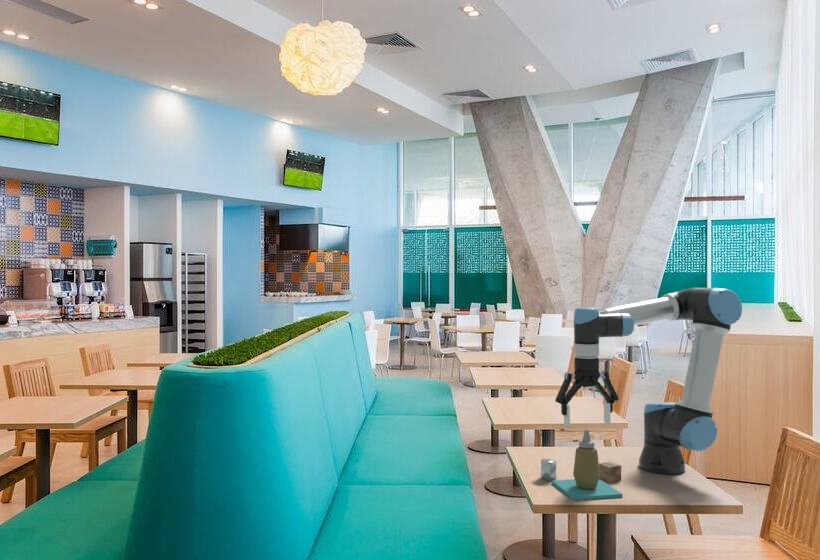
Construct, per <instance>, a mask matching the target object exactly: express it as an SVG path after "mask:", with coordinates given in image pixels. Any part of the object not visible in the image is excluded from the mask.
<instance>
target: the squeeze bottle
mask: <svg viewBox="0 0 820 560" xmlns="http://www.w3.org/2000/svg"><path fill="white" fill-rule="evenodd" d="M590 435H591V434H590V430H589V429H587V428H586V429H584V432H583V436H582V439H580V440H579V441H578V447H576V448H575V453H574V455H575V456H574V464H573V472H572V473H573V474H572V475H573V477H574V479H575V481H576V485H577V487H579V488H582V489H595V488H596V486H597V484H598V481H599V479H600V473H599V463H600V462H599V456H598V455H599V454H598V450H597V449H596V447H595V441H594V440H591V436H590Z"/></svg>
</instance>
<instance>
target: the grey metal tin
mask: <svg viewBox="0 0 820 560" xmlns="http://www.w3.org/2000/svg"><path fill="white" fill-rule="evenodd" d="M540 479H541V480H542V481H544V480H545V482H552V481H553V480H557V460H555V459H554V458H553V459H552V458H542V459H541V460H540Z"/></svg>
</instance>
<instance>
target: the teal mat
mask: <svg viewBox="0 0 820 560" xmlns="http://www.w3.org/2000/svg"><path fill="white" fill-rule="evenodd" d="M551 485H553V486H554V487H556V488H557V489H558V490H559V491H560V492H562V493H563V494H564V495H566V496H567V497H568V498H570V499H571V500H572V499H573V500H575V501H585V500H584V499H590V500H603V499H615V498H617V499H618V498H623V493H622V492H620V491H619V490H617V489H615V488H614V487H612V485H610V484H608V483H606V481H604V480H603V479H600V478H599V481H598V484H597V486H596V488H595V489H582V488H579V487H577V485H576V481H575V478H574V479H570V478H569V479H559V480H558V479H556V480H553V481H551ZM573 500H572V501H573Z"/></svg>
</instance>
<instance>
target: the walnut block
mask: <svg viewBox="0 0 820 560" xmlns="http://www.w3.org/2000/svg"><path fill="white" fill-rule="evenodd" d="M599 473H600V478H599V479H600V480H602V481H604V482H607V483H613V482H619V481H622V465H621V464H618V463H617V462H616V463H615V462H612V461H610V460H609V461H606V462H599Z"/></svg>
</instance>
